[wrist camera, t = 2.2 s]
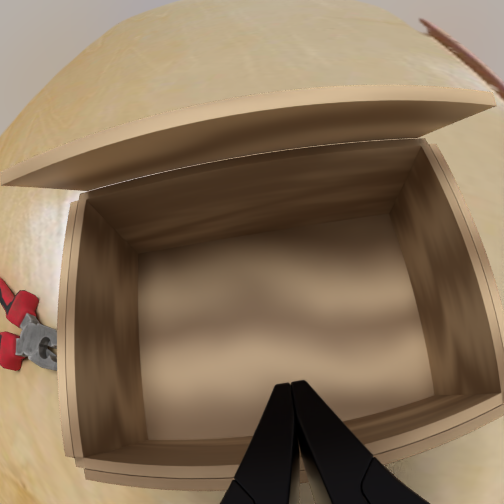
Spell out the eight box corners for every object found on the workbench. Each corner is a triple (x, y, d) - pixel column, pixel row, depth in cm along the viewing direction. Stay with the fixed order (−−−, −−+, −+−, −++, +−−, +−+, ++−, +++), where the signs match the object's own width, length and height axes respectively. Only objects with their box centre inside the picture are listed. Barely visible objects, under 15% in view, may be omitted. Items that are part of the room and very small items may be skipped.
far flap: (496, 105, 9) (492, 92, 9) (0, 185, 10) (-1, 171, 10) (417, 137, 17) (415, 128, 17) (87, 190, 18) (86, 181, 18)
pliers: (-51, 325, 23) (53, 412, 18) (-32, 259, 26) (80, 306, 21) (-34, 332, 26) (77, 413, 21) (-15, 268, 29) (102, 316, 24)
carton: (446, 405, 18) (519, 405, 10) (138, 452, 19) (68, 475, 11) (397, 209, 25) (433, 138, 17) (128, 252, 26) (72, 196, 18)
